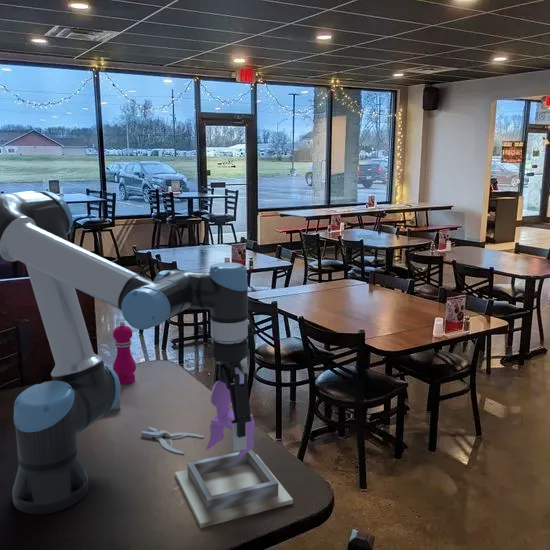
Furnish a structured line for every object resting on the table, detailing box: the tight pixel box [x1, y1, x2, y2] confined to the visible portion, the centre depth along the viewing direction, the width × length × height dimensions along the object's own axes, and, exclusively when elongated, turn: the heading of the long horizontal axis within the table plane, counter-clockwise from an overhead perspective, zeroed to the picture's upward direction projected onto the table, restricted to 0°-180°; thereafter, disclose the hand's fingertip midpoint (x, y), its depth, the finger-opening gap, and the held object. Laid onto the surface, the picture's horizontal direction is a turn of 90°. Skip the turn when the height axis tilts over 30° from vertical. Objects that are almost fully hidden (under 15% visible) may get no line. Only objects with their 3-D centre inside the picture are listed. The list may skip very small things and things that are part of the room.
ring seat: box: [174, 448, 294, 529], centre depth 123 cm, size 20×20×4 cm
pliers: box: [140, 426, 205, 456], centre depth 145 cm, size 10×2×15 cm
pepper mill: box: [112, 320, 137, 385], centre depth 181 cm, size 7×7×20 cm
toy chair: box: [205, 380, 256, 460], centre depth 120 cm, size 8×9×15 cm
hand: (231, 438), depth 121 cm, fingers closed on toy chair, 9 cm apart
